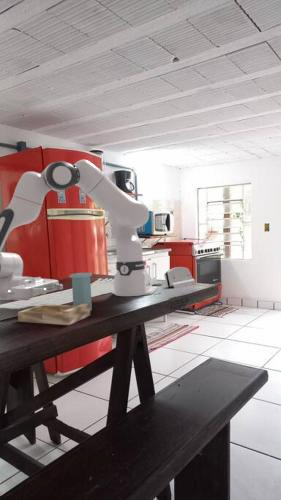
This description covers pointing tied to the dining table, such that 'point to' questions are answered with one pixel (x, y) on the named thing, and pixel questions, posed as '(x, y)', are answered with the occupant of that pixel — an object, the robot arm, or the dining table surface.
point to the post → (81, 288)
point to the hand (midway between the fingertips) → (53, 289)
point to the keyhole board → (55, 314)
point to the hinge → (178, 277)
